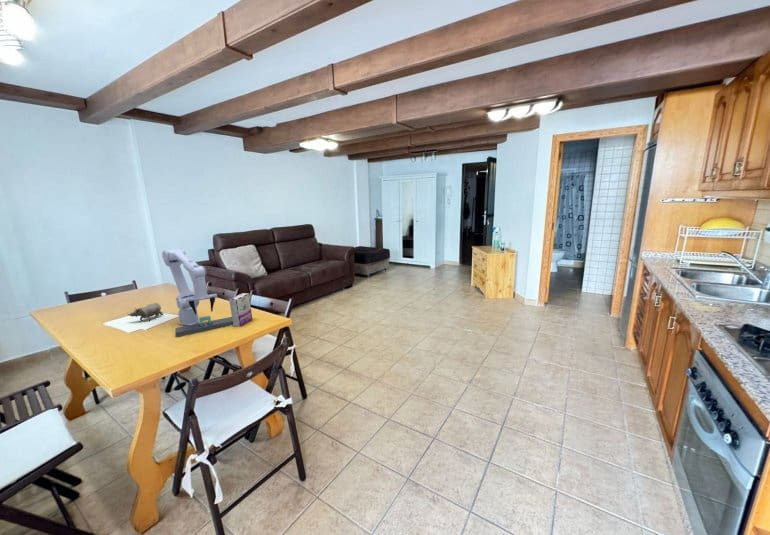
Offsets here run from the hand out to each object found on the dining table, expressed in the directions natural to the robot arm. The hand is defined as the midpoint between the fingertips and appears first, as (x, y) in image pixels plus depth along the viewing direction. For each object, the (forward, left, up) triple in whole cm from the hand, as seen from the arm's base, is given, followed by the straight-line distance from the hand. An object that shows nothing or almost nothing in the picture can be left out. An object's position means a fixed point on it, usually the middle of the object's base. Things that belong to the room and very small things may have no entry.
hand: (203, 312), depth 164 cm
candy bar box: (+14, +12, -10) cm, 21 cm away
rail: (0, 0, -9) cm, 9 cm away
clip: (0, 0, -9) cm, 9 cm away
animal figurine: (-47, 0, -10) cm, 48 cm away
